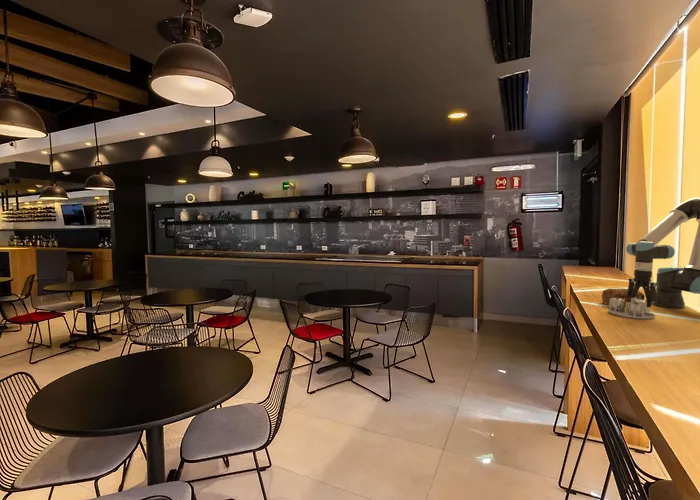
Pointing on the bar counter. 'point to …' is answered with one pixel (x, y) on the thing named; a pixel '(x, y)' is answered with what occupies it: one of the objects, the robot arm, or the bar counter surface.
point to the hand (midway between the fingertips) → (639, 310)
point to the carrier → (628, 309)
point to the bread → (619, 295)
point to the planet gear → (638, 301)
